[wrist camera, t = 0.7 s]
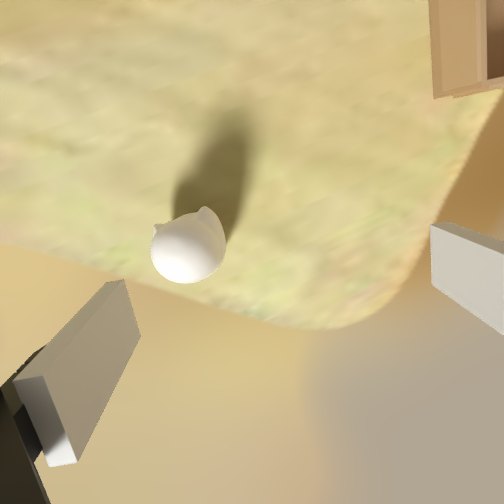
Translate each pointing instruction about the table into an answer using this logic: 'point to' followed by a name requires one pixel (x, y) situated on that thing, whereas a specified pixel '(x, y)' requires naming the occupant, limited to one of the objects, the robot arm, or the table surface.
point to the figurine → (189, 246)
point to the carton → (466, 46)
